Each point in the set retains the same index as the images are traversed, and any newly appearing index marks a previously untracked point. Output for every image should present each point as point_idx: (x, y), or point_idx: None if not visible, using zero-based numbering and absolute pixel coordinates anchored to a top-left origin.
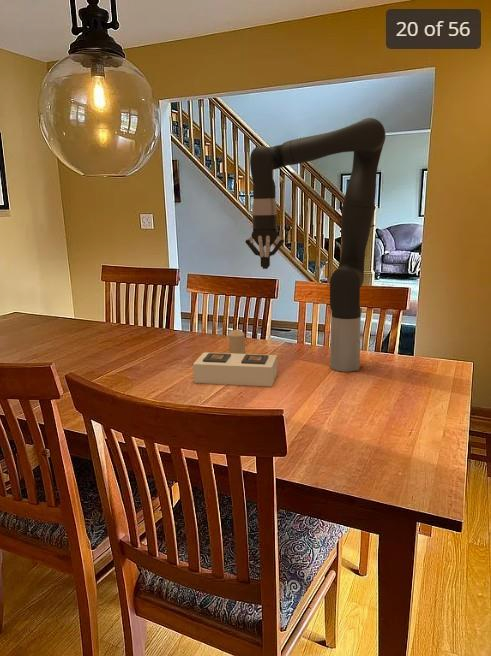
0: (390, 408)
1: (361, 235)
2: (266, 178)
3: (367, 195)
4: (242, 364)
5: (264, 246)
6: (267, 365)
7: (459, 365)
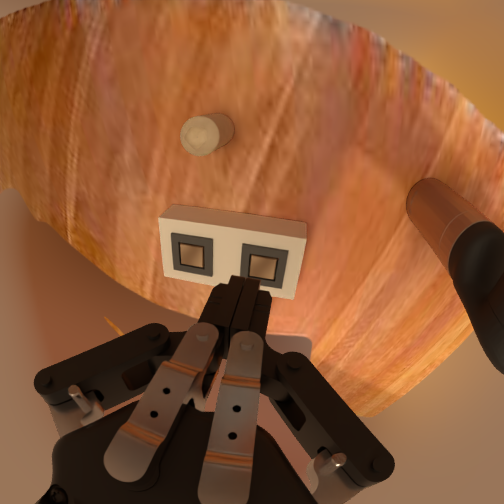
0: (417, 335)
1: None
2: None
3: None
4: None
5: (190, 384)
6: (286, 291)
7: None
